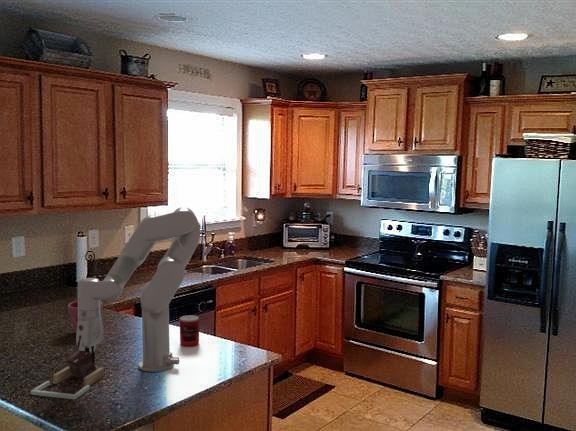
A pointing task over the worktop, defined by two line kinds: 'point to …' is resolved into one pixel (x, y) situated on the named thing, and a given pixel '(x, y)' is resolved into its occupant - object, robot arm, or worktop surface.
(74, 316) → the plant pot
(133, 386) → the worktop surface
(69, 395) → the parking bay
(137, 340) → the worktop surface
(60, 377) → the channel
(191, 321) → the canned food
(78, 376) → the box
